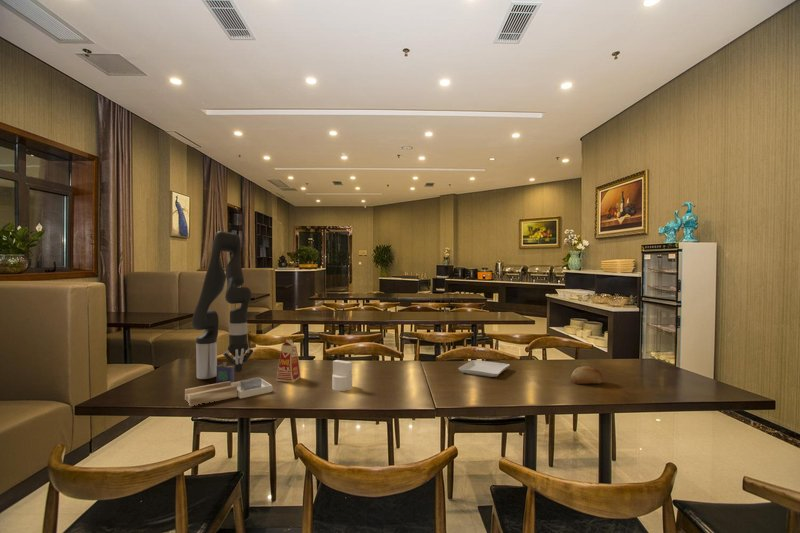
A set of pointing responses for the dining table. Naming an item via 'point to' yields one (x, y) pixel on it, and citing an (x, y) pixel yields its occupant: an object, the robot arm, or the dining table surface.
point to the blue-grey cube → (256, 382)
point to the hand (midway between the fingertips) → (238, 372)
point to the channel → (210, 393)
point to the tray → (247, 393)
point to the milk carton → (288, 363)
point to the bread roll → (586, 375)
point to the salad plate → (483, 368)
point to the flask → (224, 373)
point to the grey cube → (246, 384)
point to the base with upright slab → (342, 375)
